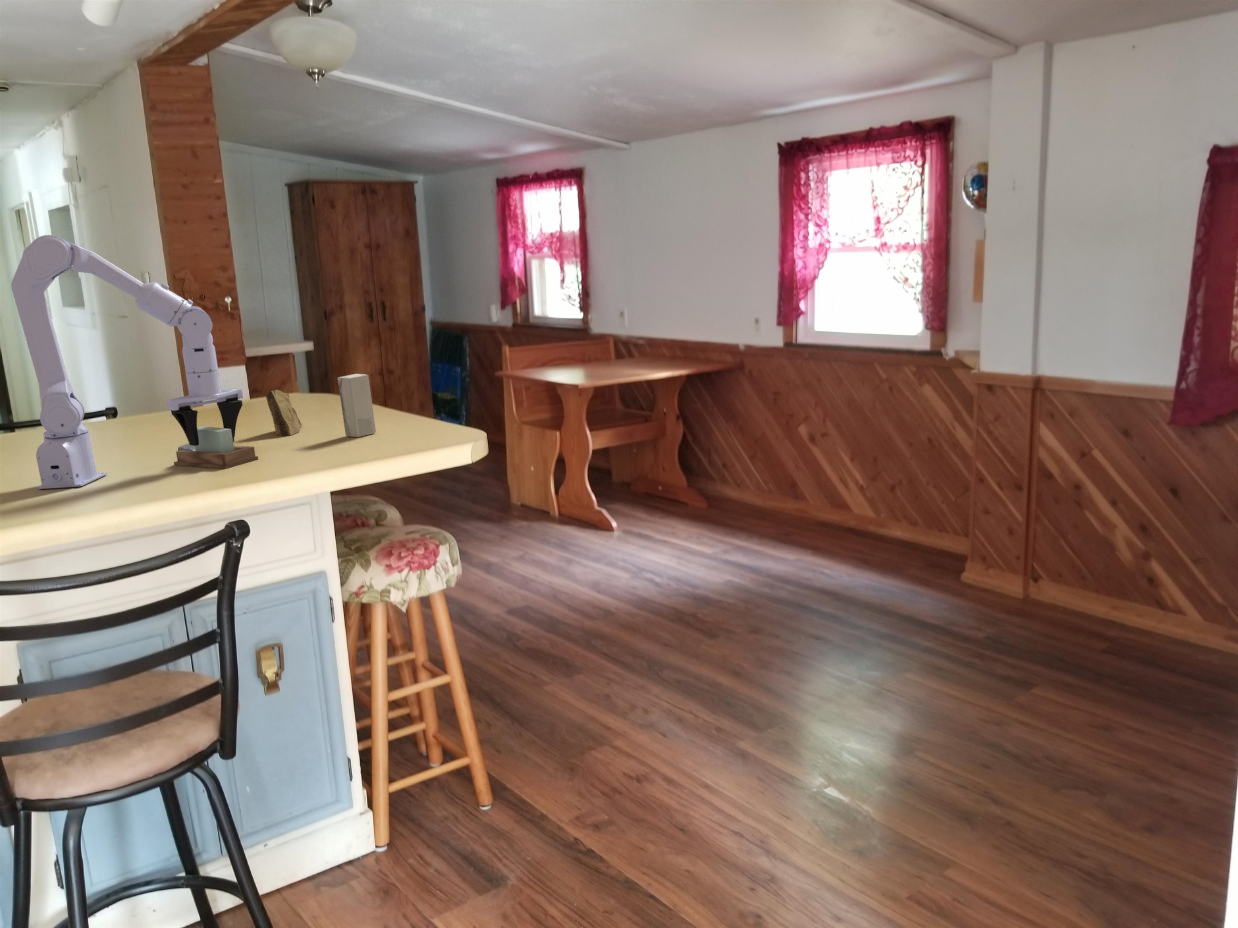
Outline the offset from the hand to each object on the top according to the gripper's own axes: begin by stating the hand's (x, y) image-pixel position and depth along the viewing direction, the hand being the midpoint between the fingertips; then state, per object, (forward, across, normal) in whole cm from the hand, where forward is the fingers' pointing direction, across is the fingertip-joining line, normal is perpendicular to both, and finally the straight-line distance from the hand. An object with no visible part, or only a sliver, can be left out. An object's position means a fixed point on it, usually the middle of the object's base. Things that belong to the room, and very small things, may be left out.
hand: (212, 441), depth 185 cm
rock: (+4, -27, -13) cm, 31 cm away
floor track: (+4, 0, 0) cm, 4 cm away
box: (+4, -30, +7) cm, 31 cm away
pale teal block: (+4, 0, 0) cm, 4 cm away
